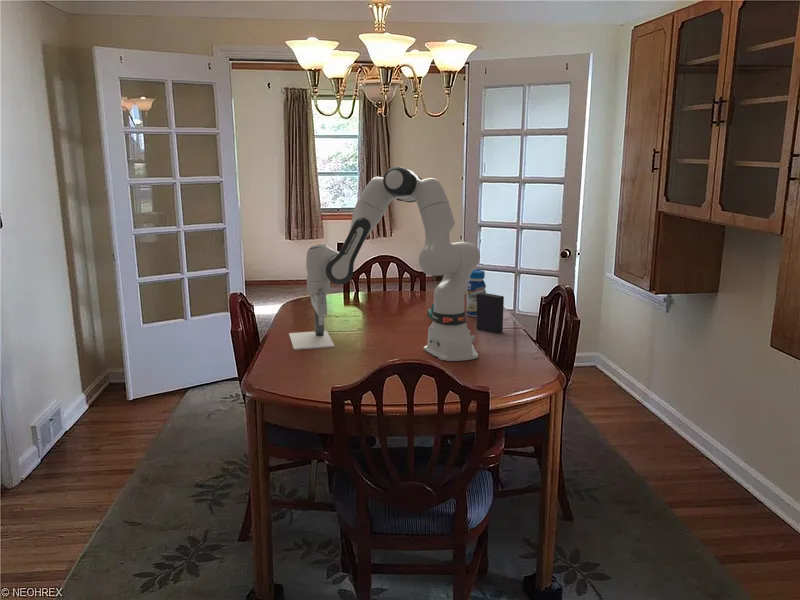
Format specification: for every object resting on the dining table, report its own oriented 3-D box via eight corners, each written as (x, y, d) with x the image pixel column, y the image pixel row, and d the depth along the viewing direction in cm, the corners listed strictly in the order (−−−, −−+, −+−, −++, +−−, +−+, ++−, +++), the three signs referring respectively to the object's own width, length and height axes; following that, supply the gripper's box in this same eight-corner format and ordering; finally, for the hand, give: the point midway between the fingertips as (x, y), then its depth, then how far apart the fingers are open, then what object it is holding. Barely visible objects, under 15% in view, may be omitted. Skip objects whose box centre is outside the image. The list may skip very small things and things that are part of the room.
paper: (334, 347, 237) (334, 345, 236) (293, 350, 233) (293, 348, 233) (326, 332, 256) (326, 330, 256) (289, 334, 253) (288, 333, 253)
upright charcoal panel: (503, 332, 257) (505, 295, 254) (497, 334, 254) (499, 297, 251) (481, 327, 265) (482, 291, 261) (475, 329, 261) (476, 293, 258)
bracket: (449, 323, 272) (450, 305, 270) (434, 323, 271) (434, 305, 269) (441, 313, 289) (441, 296, 287) (426, 313, 288) (426, 296, 287)
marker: (325, 336, 249) (324, 306, 246) (315, 336, 248) (314, 306, 245) (323, 333, 252) (323, 303, 250) (314, 334, 252) (313, 304, 249)
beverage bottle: (484, 312, 289) (485, 269, 284) (486, 317, 281) (487, 272, 276) (465, 312, 289) (466, 269, 285) (466, 317, 281) (468, 272, 276)
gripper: (330, 291, 237) (331, 327, 240) (323, 281, 256) (324, 314, 259) (313, 292, 235) (314, 328, 238) (307, 282, 255) (308, 315, 258)
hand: (319, 321), depth 249 cm, fingers open, 8 cm apart
